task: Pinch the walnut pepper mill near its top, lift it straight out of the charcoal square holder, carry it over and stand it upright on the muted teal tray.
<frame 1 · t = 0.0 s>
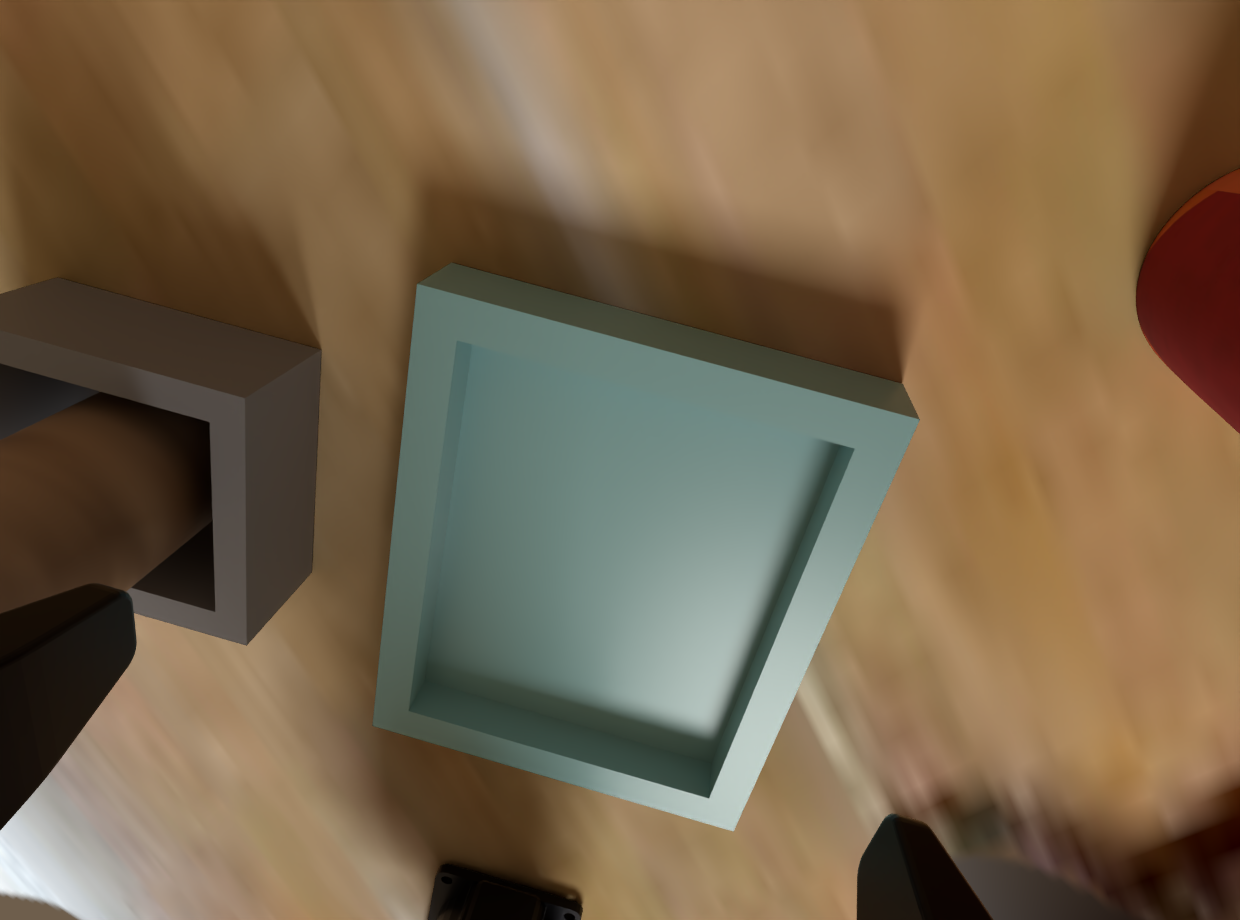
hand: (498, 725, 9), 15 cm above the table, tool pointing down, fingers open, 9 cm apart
pepper mill: (63, 518, 21), in the holder
holder: (193, 435, 26), on the table
tray: (612, 553, 25), on the table
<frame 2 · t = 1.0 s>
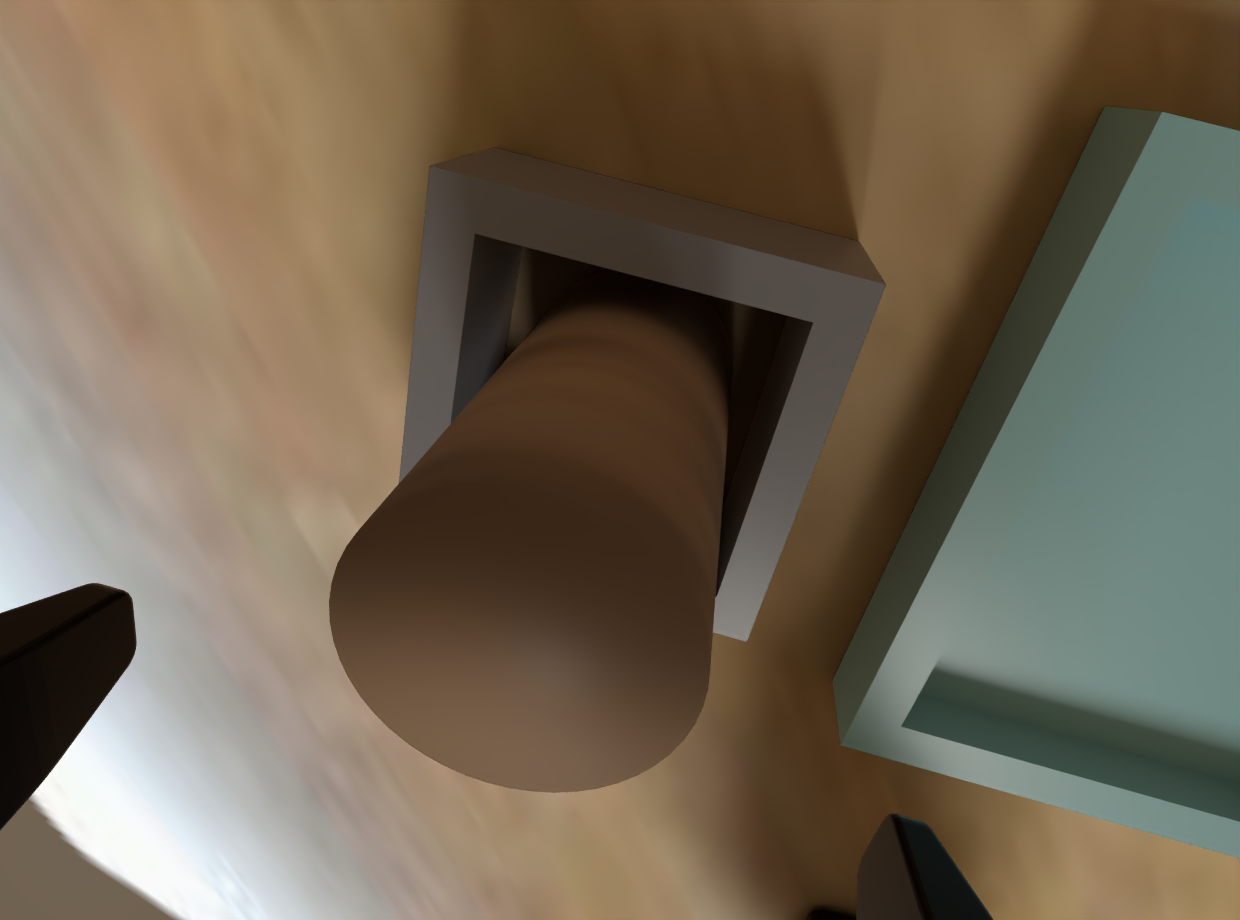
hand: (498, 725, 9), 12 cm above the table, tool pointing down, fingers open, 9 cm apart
pepper mill: (593, 462, 15), in the holder
holder: (633, 366, 20), on the table
tray: (1200, 518, 19), on the table
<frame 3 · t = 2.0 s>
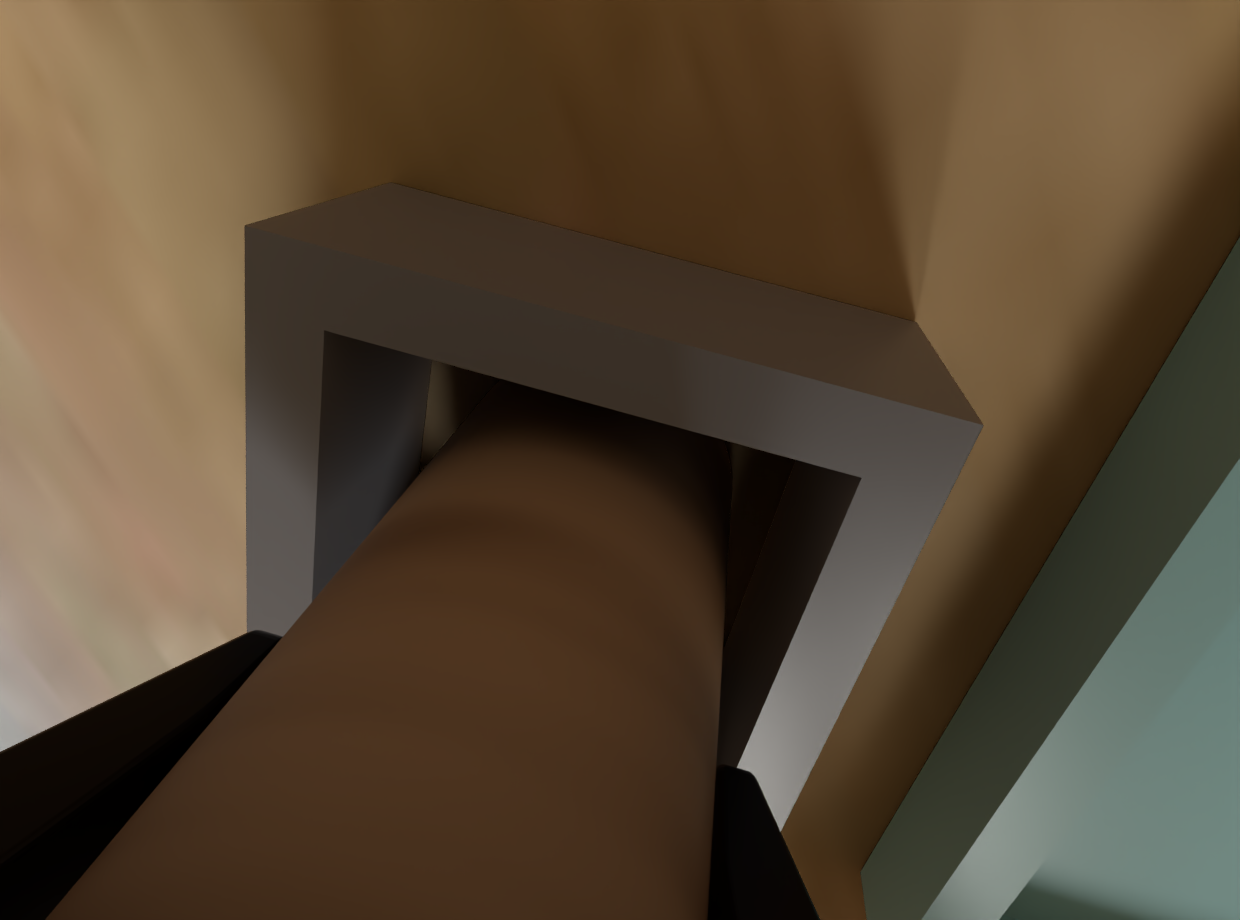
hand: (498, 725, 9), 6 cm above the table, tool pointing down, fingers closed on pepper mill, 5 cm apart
pepper mill: (511, 691, 9), in the holder, touching gripper
holder: (594, 481, 14), on the table
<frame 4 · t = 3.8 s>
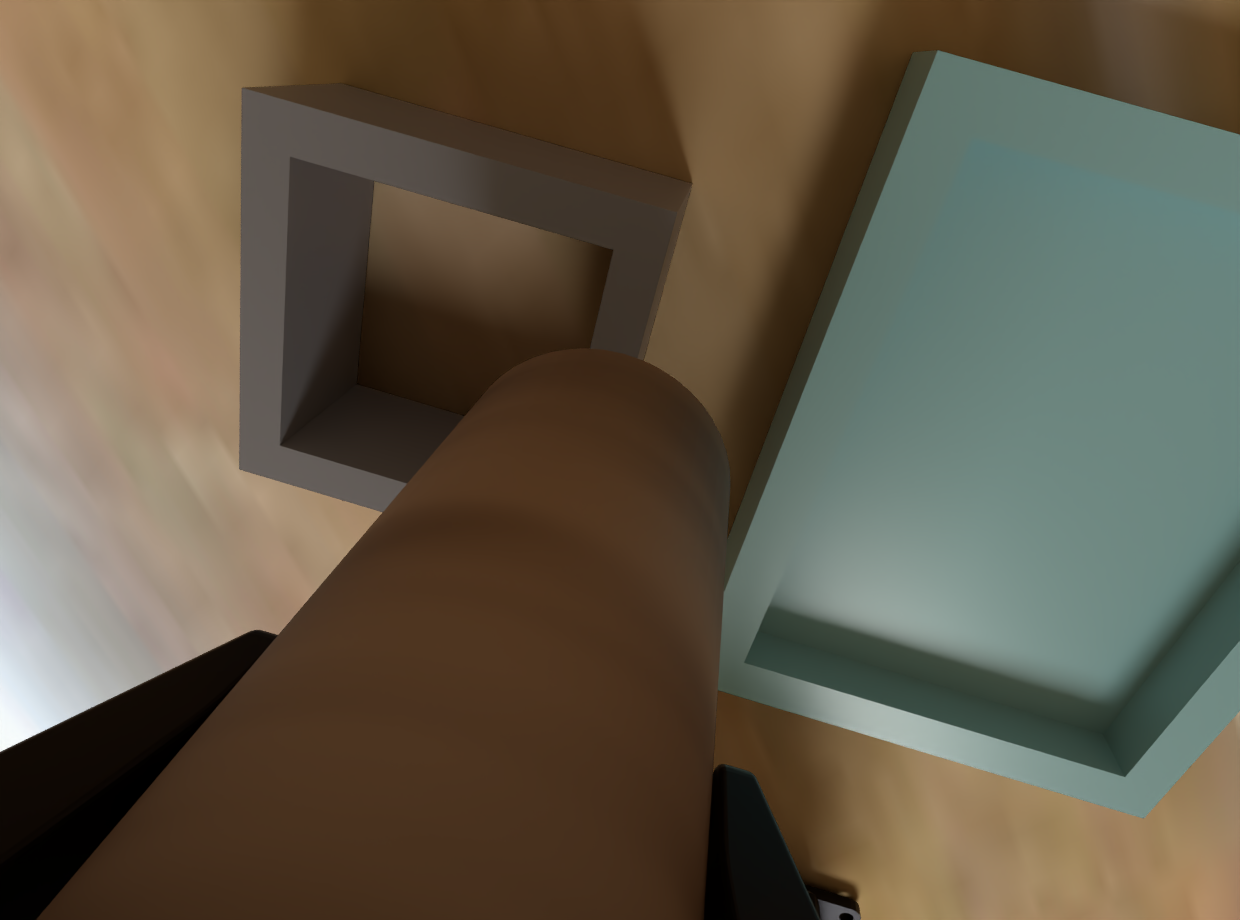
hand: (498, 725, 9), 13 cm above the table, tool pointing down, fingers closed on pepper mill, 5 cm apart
pepper mill: (508, 689, 9), point 12 cm above the table, touching gripper
holder: (486, 306, 20), on the table
tray: (1027, 464, 20), on the table
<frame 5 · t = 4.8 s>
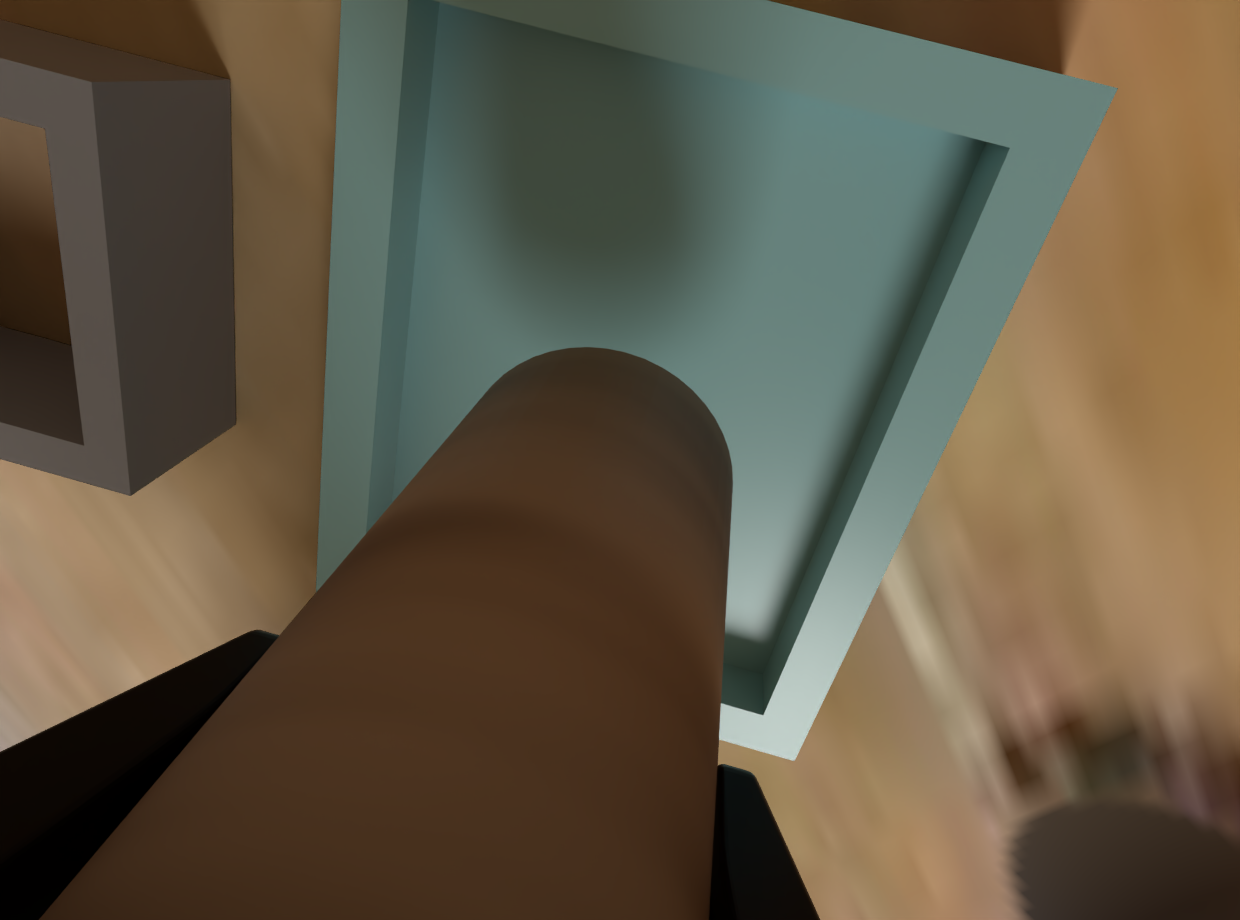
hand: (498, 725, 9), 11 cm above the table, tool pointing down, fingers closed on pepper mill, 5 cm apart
pepper mill: (511, 689, 9), point 10 cm above the table, touching gripper
holder: (68, 225, 19), on the table
tray: (634, 379, 19), on the table
when the fingers open (8 cm above the table, at t = 5.6 s): pepper mill drops 1 cm, resting on tray.
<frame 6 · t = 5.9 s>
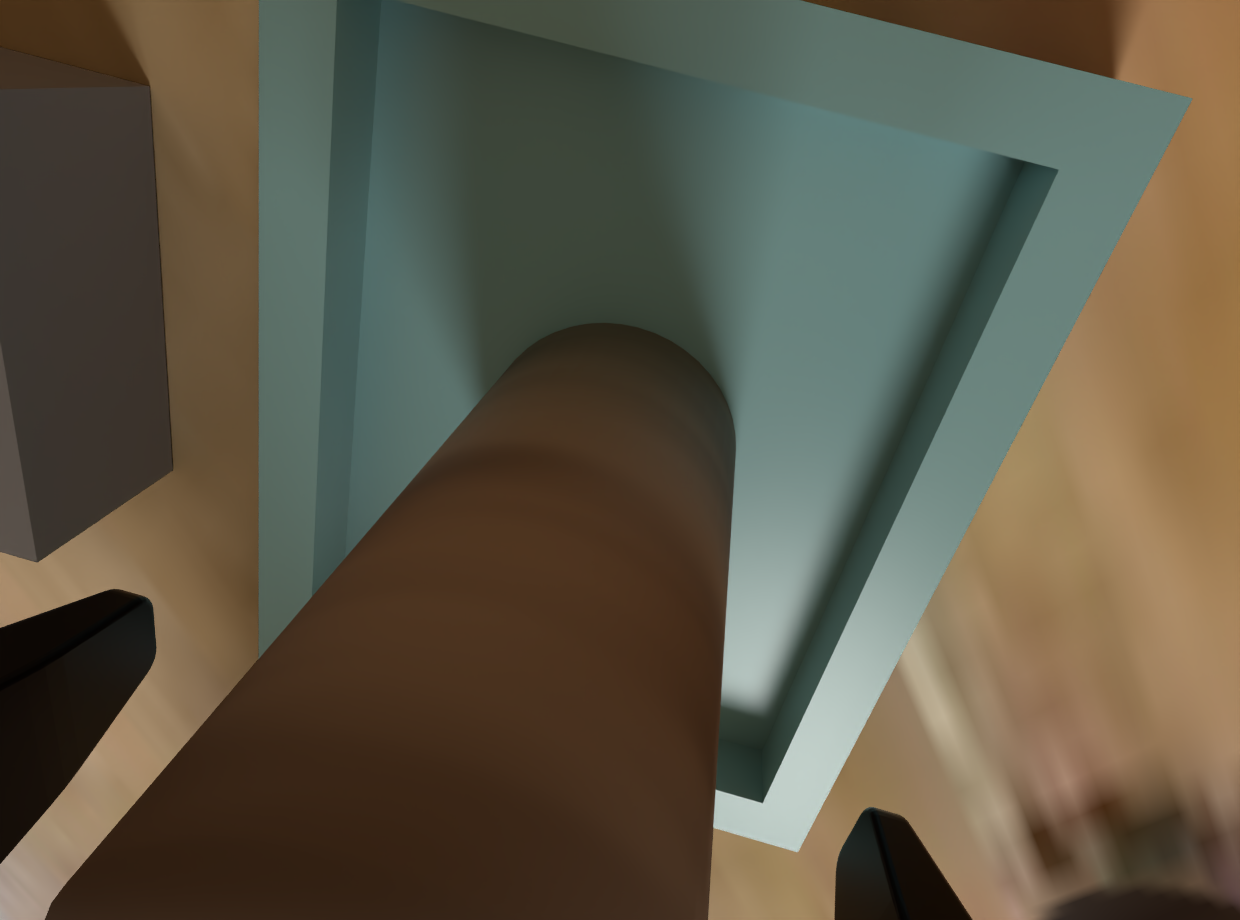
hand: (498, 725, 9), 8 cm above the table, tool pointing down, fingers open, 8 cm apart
pepper mill: (541, 613, 11), in the tray, point 6 cm above the table
tray: (616, 425, 16), on the table
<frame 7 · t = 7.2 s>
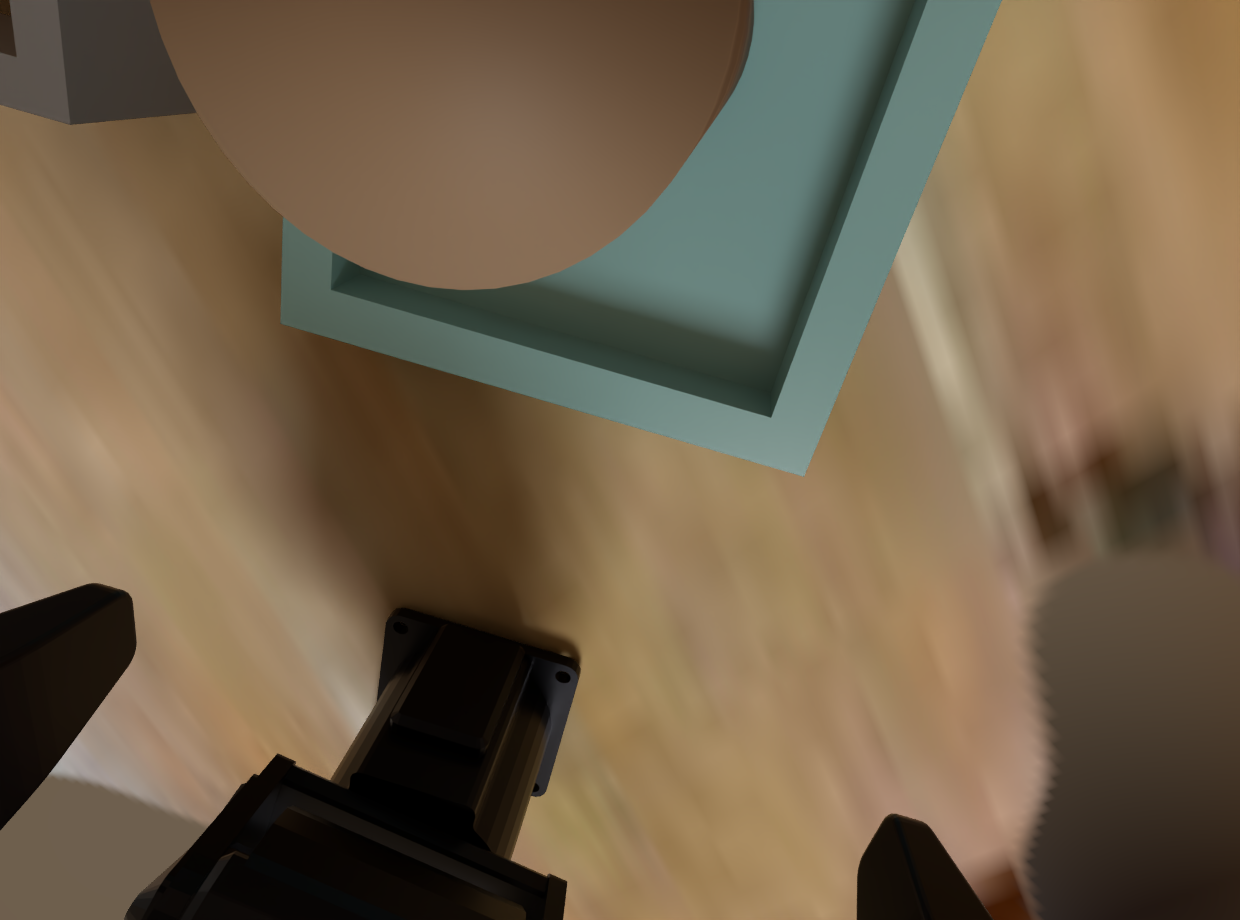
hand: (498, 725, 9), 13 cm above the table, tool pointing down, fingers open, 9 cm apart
pepper mill: (572, 12, 11), in the tray, point 6 cm above the table
tray: (636, 27, 17), on the table
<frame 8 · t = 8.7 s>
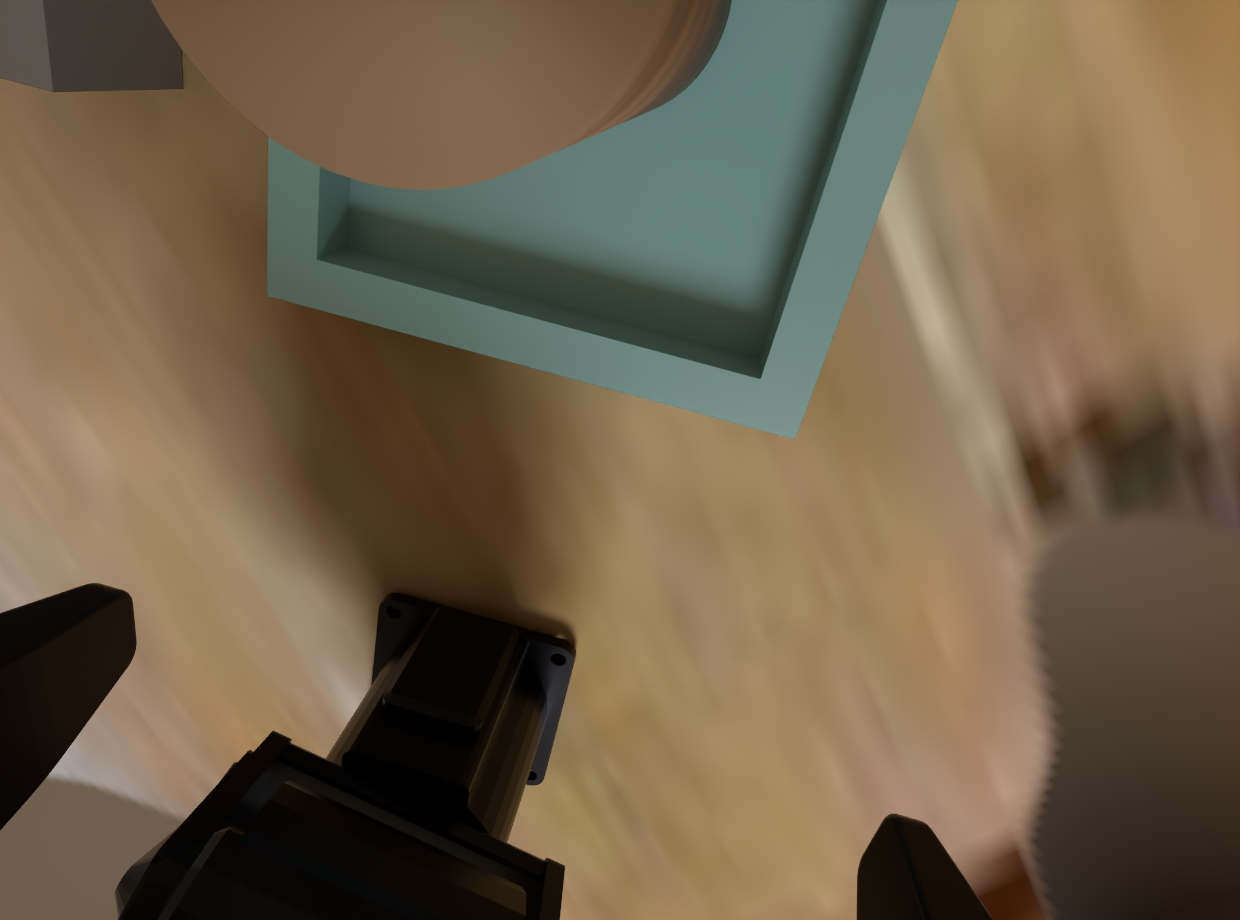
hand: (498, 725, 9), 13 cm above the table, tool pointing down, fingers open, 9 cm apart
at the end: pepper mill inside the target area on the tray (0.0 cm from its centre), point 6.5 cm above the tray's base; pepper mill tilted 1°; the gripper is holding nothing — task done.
